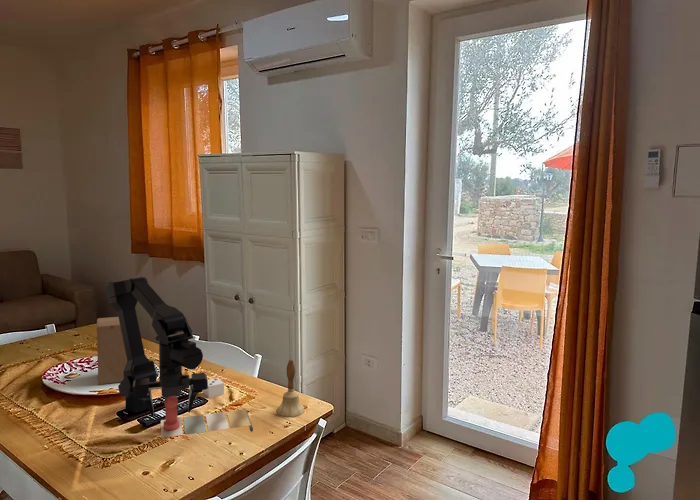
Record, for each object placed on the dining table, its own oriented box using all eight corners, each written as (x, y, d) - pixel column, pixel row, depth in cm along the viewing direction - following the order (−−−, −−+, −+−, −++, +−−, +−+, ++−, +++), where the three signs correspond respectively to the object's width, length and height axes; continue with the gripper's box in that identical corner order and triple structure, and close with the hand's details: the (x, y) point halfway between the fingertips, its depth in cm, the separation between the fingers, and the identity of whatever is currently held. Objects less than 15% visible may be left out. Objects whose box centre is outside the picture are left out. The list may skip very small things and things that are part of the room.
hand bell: (282, 419, 145) (283, 366, 143) (272, 407, 152) (273, 357, 150) (308, 414, 149) (310, 363, 147) (298, 402, 156) (299, 353, 154)
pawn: (163, 431, 133) (163, 400, 131) (163, 424, 136) (163, 393, 135) (179, 429, 134) (179, 398, 133) (179, 422, 138) (178, 392, 137)
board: (159, 444, 129) (159, 439, 129) (159, 422, 140) (159, 418, 140) (252, 430, 138) (252, 426, 137) (245, 411, 149) (245, 407, 148)
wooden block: (131, 381, 167) (130, 323, 164) (98, 385, 162) (96, 326, 160) (130, 370, 176) (129, 315, 173) (98, 374, 171) (96, 317, 168)
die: (208, 401, 154) (208, 386, 154) (202, 395, 158) (202, 380, 158) (224, 398, 157) (224, 382, 156) (218, 392, 161) (218, 377, 160)
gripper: (131, 374, 122) (132, 433, 124) (209, 366, 129) (209, 423, 131) (133, 358, 132) (134, 413, 134) (205, 352, 139) (205, 405, 141)
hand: (171, 414), depth 135 cm, fingers open, 9 cm apart
